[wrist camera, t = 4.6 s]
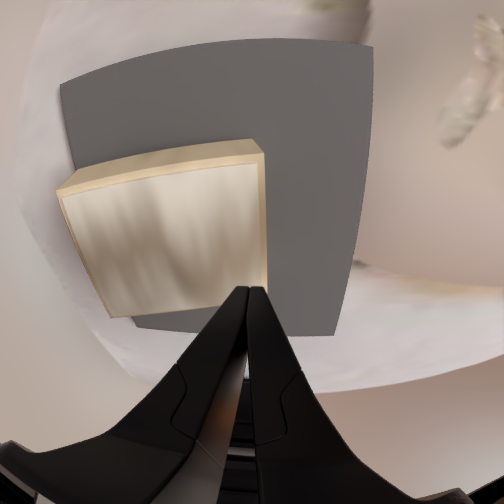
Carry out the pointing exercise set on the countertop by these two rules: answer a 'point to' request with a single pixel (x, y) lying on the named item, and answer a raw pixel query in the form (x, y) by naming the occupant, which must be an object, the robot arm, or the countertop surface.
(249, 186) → the cream rectangular block
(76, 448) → the robot arm
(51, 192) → the countertop surface
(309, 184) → the mat
